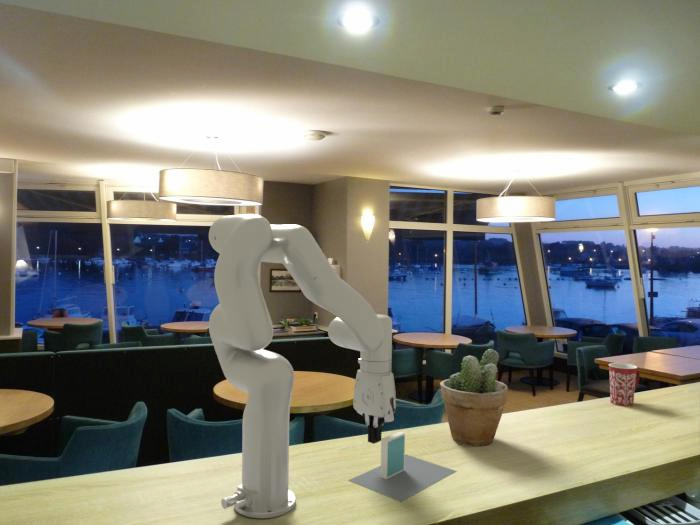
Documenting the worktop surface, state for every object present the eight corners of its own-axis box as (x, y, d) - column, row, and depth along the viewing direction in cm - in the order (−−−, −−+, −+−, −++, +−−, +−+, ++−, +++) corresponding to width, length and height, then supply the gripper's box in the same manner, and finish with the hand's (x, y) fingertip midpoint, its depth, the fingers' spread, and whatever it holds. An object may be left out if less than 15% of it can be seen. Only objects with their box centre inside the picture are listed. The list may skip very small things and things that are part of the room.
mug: (623, 408, 186) (624, 369, 186) (601, 401, 195) (602, 363, 194) (649, 404, 191) (650, 366, 191) (627, 397, 200) (628, 361, 199)
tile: (386, 479, 125) (387, 440, 125) (380, 477, 126) (381, 438, 126) (404, 470, 130) (405, 433, 130) (398, 468, 131) (399, 431, 131)
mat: (401, 503, 114) (401, 501, 114) (348, 482, 124) (348, 480, 124) (456, 472, 130) (456, 471, 130) (405, 455, 140) (405, 454, 140)
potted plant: (496, 456, 141) (498, 360, 140) (428, 443, 150) (430, 352, 149) (513, 436, 157) (515, 349, 156) (451, 424, 166) (453, 343, 165)
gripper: (342, 363, 134) (341, 437, 134) (390, 373, 124) (389, 454, 124) (362, 359, 139) (361, 430, 140) (410, 368, 129) (408, 445, 130)
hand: (374, 441), depth 132 cm, fingers closed
